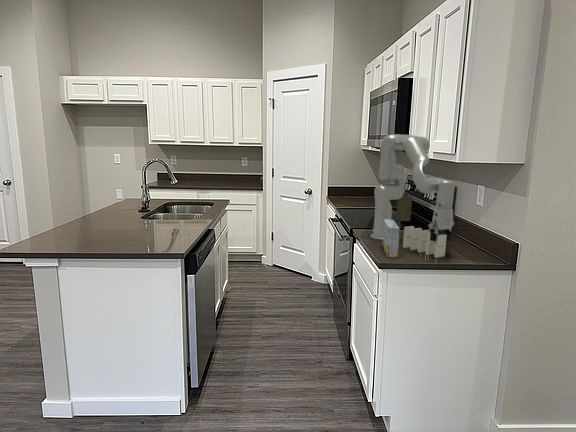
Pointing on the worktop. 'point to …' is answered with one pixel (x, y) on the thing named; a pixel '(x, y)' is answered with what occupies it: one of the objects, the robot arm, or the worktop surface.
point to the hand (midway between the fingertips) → (439, 239)
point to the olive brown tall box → (404, 207)
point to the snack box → (390, 238)
